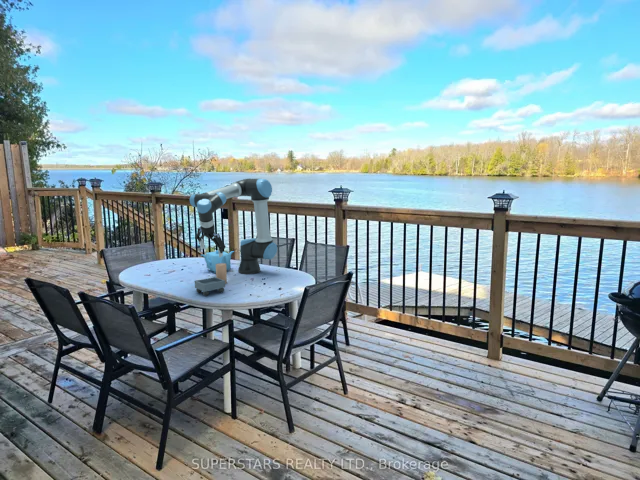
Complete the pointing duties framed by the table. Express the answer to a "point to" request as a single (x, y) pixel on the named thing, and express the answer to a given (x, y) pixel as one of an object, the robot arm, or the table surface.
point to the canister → (221, 271)
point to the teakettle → (217, 260)
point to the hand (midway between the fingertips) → (211, 252)
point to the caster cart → (209, 285)
